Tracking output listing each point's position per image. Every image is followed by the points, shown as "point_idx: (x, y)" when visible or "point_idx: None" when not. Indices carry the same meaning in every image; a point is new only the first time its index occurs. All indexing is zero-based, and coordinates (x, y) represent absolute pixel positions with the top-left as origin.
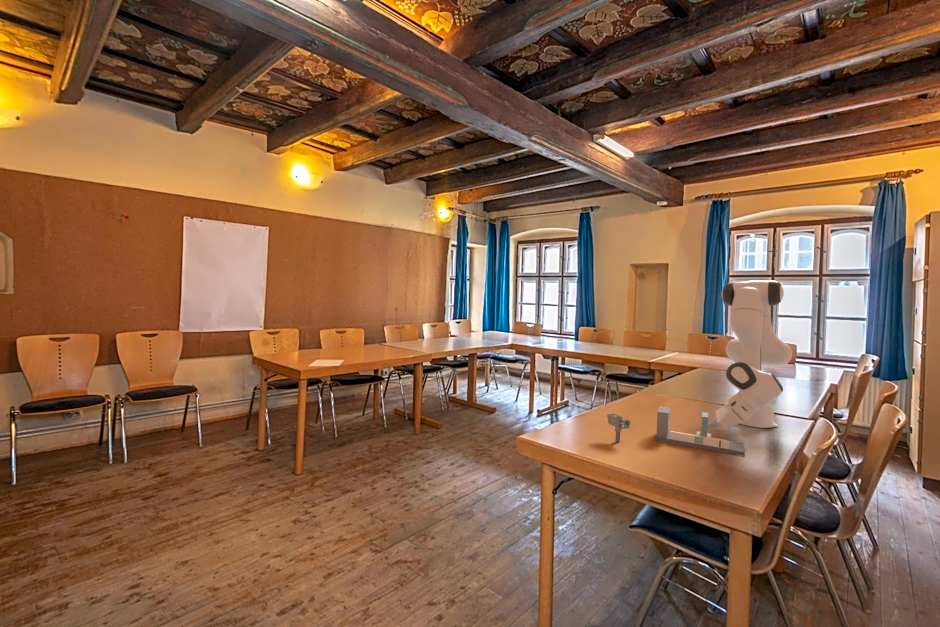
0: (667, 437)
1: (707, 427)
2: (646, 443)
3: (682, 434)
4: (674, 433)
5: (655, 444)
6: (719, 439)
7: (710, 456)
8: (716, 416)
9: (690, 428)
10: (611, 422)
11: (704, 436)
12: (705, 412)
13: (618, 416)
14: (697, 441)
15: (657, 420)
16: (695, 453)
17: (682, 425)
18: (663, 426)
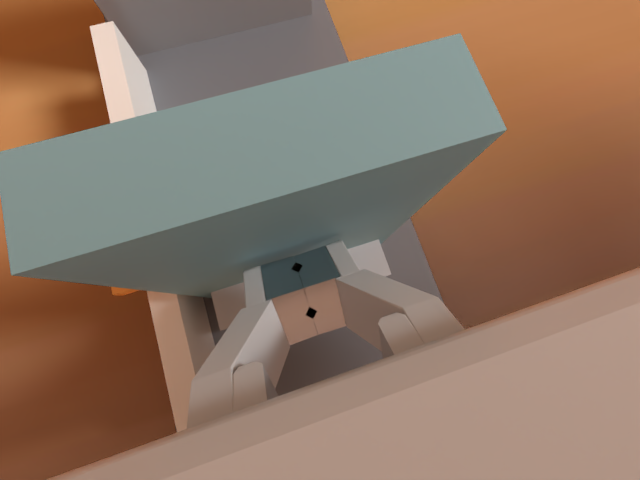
0: (154, 52)
1: (145, 289)
2: (19, 7)
3: (114, 115)
4: (103, 62)
5: (39, 47)
6: (180, 425)
7: (39, 387)
8: (377, 368)
9: (594, 79)
10: None
11: (119, 290)
12: (485, 88)
13: None
14: None
15: None
16: (32, 285)
17: (610, 24)
18: None
